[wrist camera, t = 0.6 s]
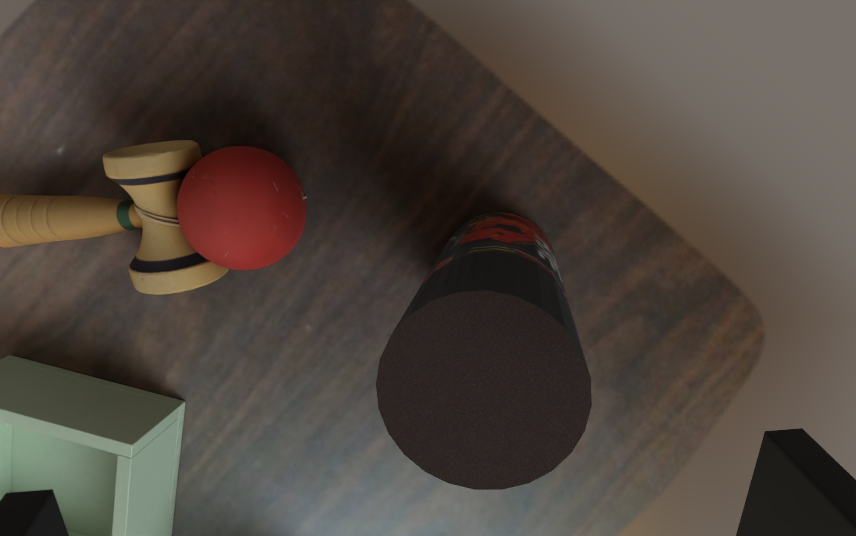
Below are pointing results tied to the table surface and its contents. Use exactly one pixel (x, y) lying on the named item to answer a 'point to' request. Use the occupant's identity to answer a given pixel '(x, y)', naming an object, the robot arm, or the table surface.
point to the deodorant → (487, 361)
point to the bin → (90, 448)
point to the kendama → (176, 212)
